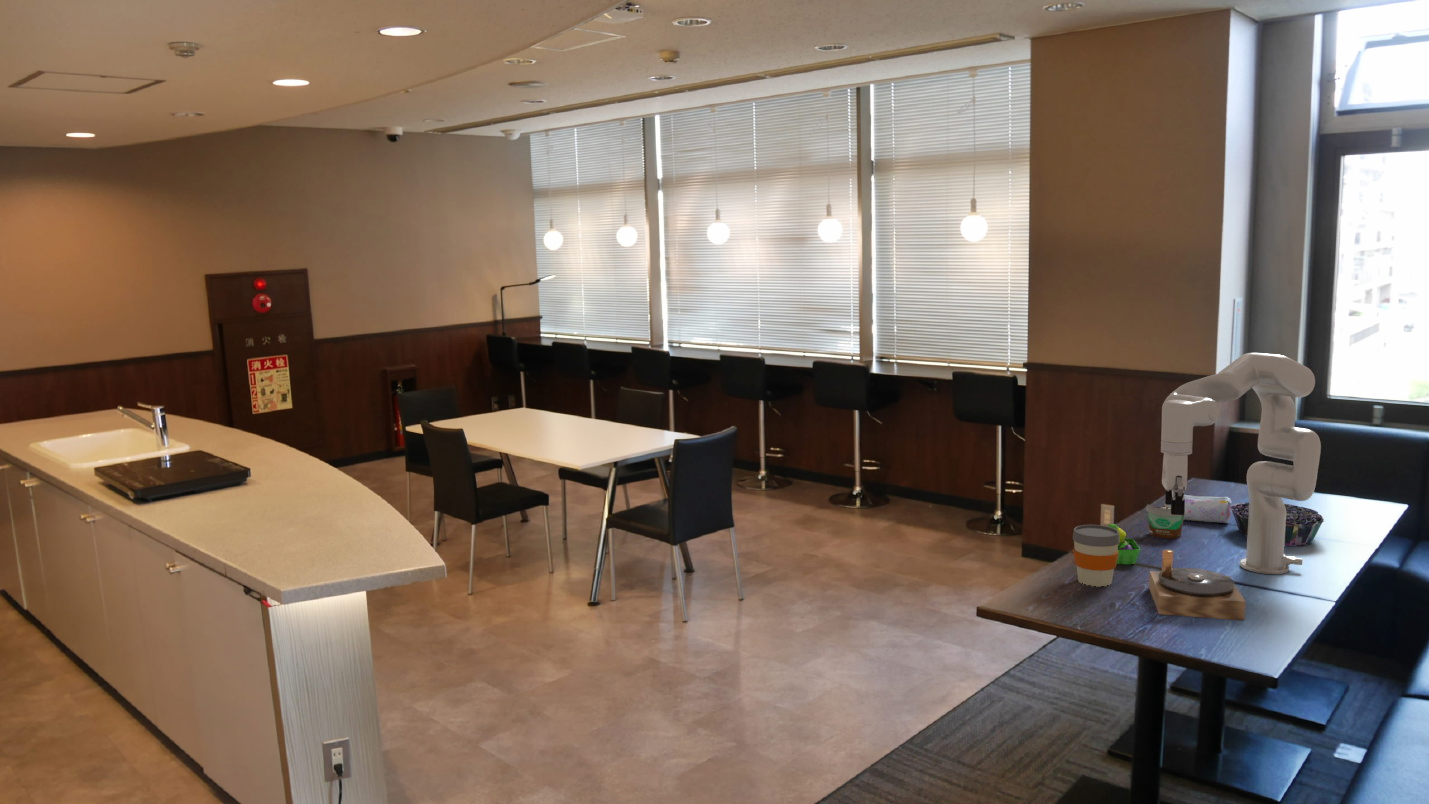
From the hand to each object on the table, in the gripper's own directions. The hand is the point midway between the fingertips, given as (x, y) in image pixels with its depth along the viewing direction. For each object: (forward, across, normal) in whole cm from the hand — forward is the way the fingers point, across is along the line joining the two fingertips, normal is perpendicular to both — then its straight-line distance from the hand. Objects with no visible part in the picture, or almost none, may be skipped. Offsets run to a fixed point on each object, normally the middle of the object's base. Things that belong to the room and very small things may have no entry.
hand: (1174, 509), depth 264 cm
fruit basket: (+25, -31, -10) cm, 41 cm away
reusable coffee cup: (+25, -9, -19) cm, 33 cm away
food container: (+26, -58, +6) cm, 64 cm away
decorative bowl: (+27, -65, +40) cm, 81 cm away
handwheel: (+19, +4, +5) cm, 20 cm away
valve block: (+25, +4, +5) cm, 25 cm away
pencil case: (+26, -81, +20) cm, 88 cm away
